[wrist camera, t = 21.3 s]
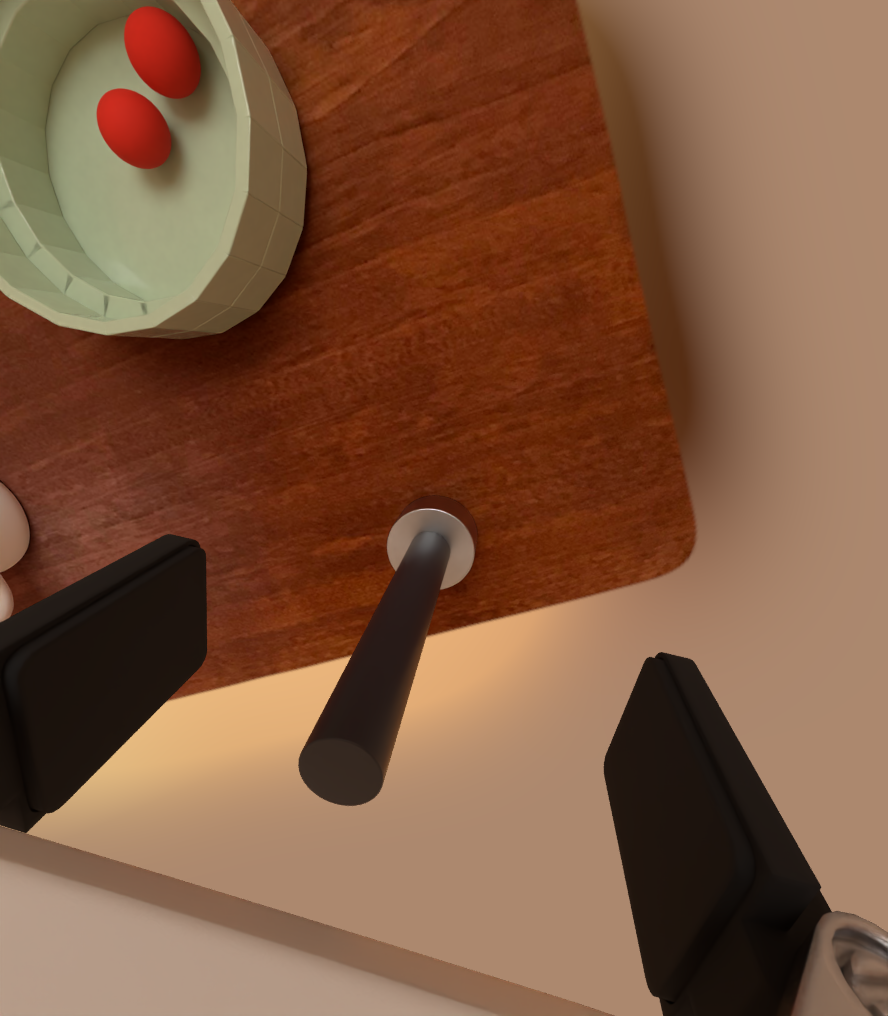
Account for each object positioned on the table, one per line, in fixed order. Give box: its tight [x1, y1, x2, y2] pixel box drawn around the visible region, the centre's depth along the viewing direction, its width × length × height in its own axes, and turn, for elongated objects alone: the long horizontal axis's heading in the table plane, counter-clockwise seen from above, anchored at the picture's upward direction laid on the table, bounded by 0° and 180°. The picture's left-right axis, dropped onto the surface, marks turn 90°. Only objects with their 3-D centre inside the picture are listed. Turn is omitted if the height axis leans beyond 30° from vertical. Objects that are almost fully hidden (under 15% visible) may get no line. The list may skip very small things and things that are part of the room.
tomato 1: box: [124, 6, 201, 99], centre depth 21 cm, size 3×3×3 cm
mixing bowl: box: [0, 0, 307, 339], centre depth 22 cm, size 16×16×6 cm
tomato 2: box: [96, 88, 171, 169], centre depth 22 cm, size 3×3×3 cm
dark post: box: [298, 495, 477, 806], centre depth 21 cm, size 5×5×18 cm
